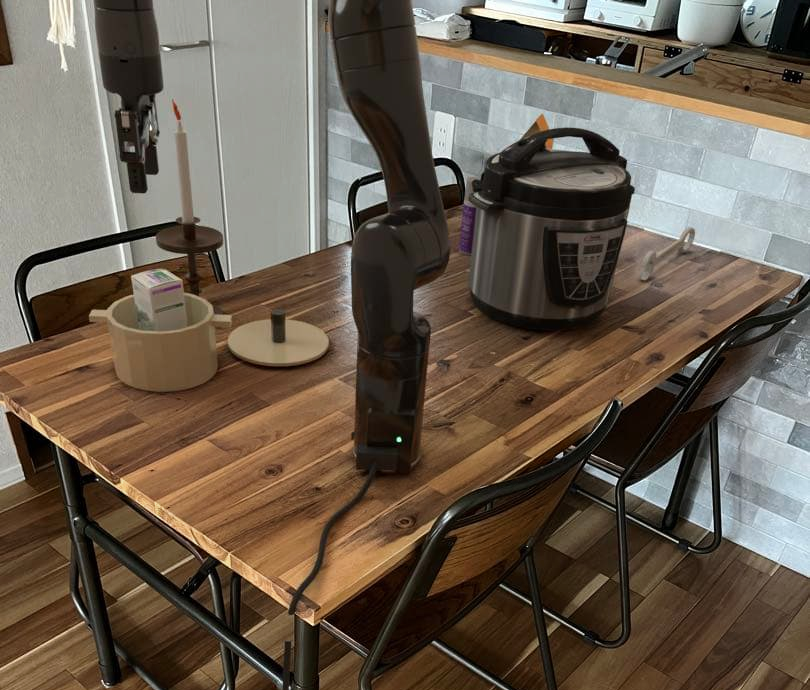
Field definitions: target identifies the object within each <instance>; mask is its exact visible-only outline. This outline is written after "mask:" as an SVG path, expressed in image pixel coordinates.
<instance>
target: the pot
mask: <svg viewBox="0 0 810 690" xmlns="http://www.w3.org/2000/svg"><path fill="white" fill-rule="evenodd" d="M184 298H185V307H186V315H187V324H188V327H186V328H182V329H179V330H171V331H142V330H139V326H138V319H137V312H136V306H135V299H134V294H130V295H127V296H124V297H122V298H119V299H117V300H116V301H115V300H114V302H113V303H112V304H111V305H110V306H109V307H107V309H91V311H90V313H89V315H88V321H89V322H90V323H107V329H108V335H109V341H110V349H111V354H112V359H113V360H112V361H113V366H114V372H115V373H116V376H117V377H118V379H119V380H120V381H121V382H123V384H125V385H127V386H129V387H132V388H134V389H138V390H142V391H149V392H157V393H158V392H159V393H167V392H178V391H184V390H188V389H192V388H193V389H194V388H195V387H198V386H201V385H203V384H205V383H206V382H209V381H210V380H211V379H212V378H214V376H215V375H216V373H217V371H218V367H219V363H218V352H217V339H216V338H217V337H216V328H228V329H229V328H231V327H232V323H233V315H232V314H223V315H216V314H214V312H213V306H212V305H213V304H212V303H210V302H209V301H208V300H207V299H205V298H203V297H201V296H199V297H198V296H196V295H194V294H189V293H188V292H184Z"/></svg>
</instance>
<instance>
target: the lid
mask: <svg viewBox="0 0 810 690" xmlns="http://www.w3.org/2000/svg"><path fill="white" fill-rule="evenodd" d="M329 346H330V340H329V336H328V335H327V333H326V332H324V331H323V330H322V329H320V328H319V327H317V326H315V325H313V324H310V323H307V322H304V321H300V320H295V319H286V310H284V309H281V308H273V309H271V310H270V318H269V319H260V320H255V321H251V322H247V323H244V324H242V325H240V326H238V327H236V328H235V329H233V330H232V331H231V332H230V334H229V335H228V337H227V347H228V349H229V351H230V352H231V353H232V354H233V355H234V356H236V357H237V358H238V359H240V360H242V361H245V362H248V363H252V364H255V365H260V366H267V367H291V366H292V367H293V366H299V365H304V364H308V363H311V362H313V361H316V360H318V359H320V358H321V357H322V356H324V355H325V354H326V352H327V351H328V350H329Z"/></svg>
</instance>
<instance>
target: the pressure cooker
mask: <svg viewBox="0 0 810 690" xmlns="http://www.w3.org/2000/svg"><path fill="white" fill-rule="evenodd" d="M567 137H569V138H571V137H572V138H581V139H582V140H583V142H584V144H585V146H586V149H587V150H588V151H589V152H587V151H571V150H564V149H554V148H552V149H545V148H546V146H545V143H546V142H547V139H553V138H554V139H560V138H567ZM520 139H521V138H520ZM520 139H519V140H517V141H515V142H514V143H512V144H510V145H508V146H507V147H506V148H504V149H503V150H501V151H500V152H498V153H494V154H492V155H491V156H489V157H488V158H487V160H486V161H485V167H484V171H483V172H482V173H481V175H480V177H481V180H478V179H474V180H473V181H472V187H473V192H475V193H471V194H469V199H468V200H469V201H470V202H471V203H472V204H473V205H475V206H476V216H475V226H474V236H473V244H472V253H471V255H470V263H469V272H468V273H469V274H468V281H467V282H468V284H467V285H468V288H469V295H470V298H471V300H472V303H473V304H474V305H475V307H476V308H477V309H478V310H479V311H480V312H481V313H483V314H485V315H486V316H488V317H490V318H492V319H494V320H497V321H499V322H501V323H504V324H507V325H511V326H515V327H519V328H522V329H523V328H524V329H529V330H536V331H537V330H538V331H539V330H540V331H568V330H573V329H578V328H582V327H585V326H589V325H590V324H592V323H594V322H595V321H596V320H598V319H599V317H600V316H601V315H602V314H603V313H604V311H605V310H606V308H607V306H608V303H609V300H610V298H611V297H610V296H611V293H612V292H611V291H612V288H613V283H614V279H615V274H616V270H617V266H618V262H619V257H620V253H621V251H622V246H623V243H624V238H625V234H626V230H627V226H628V218H629V213H630V208H631V202H632V197H633V195H634V194H635V191H636V187H635V186H633V185H632V184H631V183H632V175H631V173H630V172H629V171H628V170H627V165H628V159H627V158H625V157H623V156H622V155H620V149H619V148H618V147H617V146H616V145H615V144H614V143H612V141H610V140H609V139H607V138H606V137H604V136H603V135H601V134H599V133H597V132H594V131H592V130H589V129H585V128H579V127H554V128H549V130H545V131H541V132H538V133H535V134H532V135H530V136H527V137H525V138H523V139H521V140H520Z"/></svg>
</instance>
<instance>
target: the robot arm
mask: <svg viewBox="0 0 810 690" xmlns="http://www.w3.org/2000/svg"><path fill="white" fill-rule="evenodd" d="M93 5H94V6H93V9H94V10H93V11H94V31H95V37H96V44H97V52H98V57H99V59H98V60H99V67H100V73H101V74H100V75H101V82H102V86H103V88H104V90H105V91H107V92H108V93H111V94H112V95H113V94H116V95H118V96H120V99H121V100H120V107H118V109H115V110H114V115H113V116H114V118H115V126H116V134H117V136H116V137H117V143H118V144H117V145H118V152H119V155H118V156H119V160H120V162H122V163H125V164H126V169H127V176H128V177H127V178H128V186H129V191H130V192H131V193H132V194H143V195H144V194H146V193H147V192H148V190H149V189H148V188H149V187H148V178H147V175H149V176H156V175H158V174H159V171H160V168H159V159H158V158H159V157H158V150H157V146H158V143H159V139H158V138H160V134H161V131H160V127H159V119H158V112H157V111H158V109H157V101H156V95H157V94H160V93H162V92H163V90H164V87H165V86H164V77H163V75H164V74H163V67H162V58H161V46H160V37H159V36H160V35H159V29H158V23H157V18H156V14H155V8H154V0H93ZM327 16H328V17H327V18H328V33H329V39H330V45H331V51H332V56H333V61H334V62H333V63H334V68H335V73H336V80H337V85H338V88H339V91H340V94H341V97H342V99H343V101H344V103H345V105H346V107H347V109H348V111H349V113H350V114H351V116H352V118H353V120H354V121H355V123H356V124H357V126H358V127H359V129H360V131H361V133H362V134H363V135H364V137H365V139H366V140H367V142H368V143H369V146H370V147H371V148H372V150H373V152H374V154H375V157H376V159H377V161H378V163H379V167H380V169H381V173H382V177H383V183H384V187H385V192H386V202H387V211H388V212H387V213H384V214H381V215H378V216H375V217H372V218H370V219H368V220H366V221H365V222H363V223H362V224H361V225H360V226H359V227H358V229H357V230H356V231H355V234H354V237H353V241H352V245H351V252H350V289H351V292H350V293H351V313H352V318H353V322H354V325H355V327H356V331H357V339H356V341H357V343H356V363H355V395H354V396H355V397H354V398H355V399H354V428H353V431H352V432H351V435H350V437H351V438H350V442H351V441H353V446H352V457H353V460H354V461H355V470H357V471H358V470H360V471H364V473H365V474H368V476H367V477H366V480H365V481H364V484H363V486H362V487H361V489H360V490H359V492H358V493H357V494H356V495H355V497H353V499H352V500H351V501H350V502H348V503H347V504H345V506H344V507H342V508H341V509H339V510H338V511H337V512H336V513H335V514H334V515H332V516H331V517H330V519H329V520H328V521H327V523H326V525H325V526H324V528H323V530H322V533H321V536H320V540H319V546H318V552H317V558H316V561H315V564H314V566H313V568H312V570H311V571H310V573H309V574H308V576H307V577H306V578H305V579H304V580H303V582H301V583H300V585H299V586H298V588H297V589H296V591H295V592H294V595H293V596H292V599H291V602H290V604H289V607H288V611H287V614H288V615H289V616H293V615H294V614H295V613H296V610H297V606H298V603H299V601H300V599H301V597H302V595H303V594H304V592H305V591H306V589H307V588H308V587H309V586H310V585H311V584H312V582H314V580H315V579H316V578H317V576H318V574H319V573H320V572H319V571H320V570H321V567H322V564H323V560H324V557H325V550H326V544H327V539H328V536H329V534H330V531H331V530H332V527H333V526H334V525H335V523H336V522H337V521H338V520H339V519H340V518H341V517H342V516H343V515H345V514H346V513H347V512H349V511H350V510H351V509H352V508H353V507H354V506H356V505H357V504H358V503H359V502H360V501H361V500H362V498H363V497H364V496H365V494H366V493H367V492H368V490H369V488H370V486H371V484H372V482H373V480H374V478H375V476H376V475H411V473H412V472H411V471H412V469H414V468H415V467H417V466H418V464H419V463H420V461H421V455H422V453H421V452H422V451H421V444H422V435H423V434H422V432H423V422H424V411H425V399H426V388H427V376H428V375H427V374H428V367H429V354H430V346H431V334H432V330H431V329H432V328H431V324H430V321H429V320H428V319H427V318H426V317H425V316H424V315H422V314H420V313H418V312H416V311H414V294H415V293H414V291H416V290H418V289H420V288H422V287H425V286H427V285H429V284H431V283H433V282H435V281H436V280H438V279H439V278H440V277H441V276H442V275H444V273H445V271H446V269H447V267H448V266H449V265H448V264H449V262H450V257H451V238H450V231H449V226H448V221H447V216H446V212H445V207H444V203H443V199H442V194H441V189H440V185H439V180H438V175H437V172H436V166H435V162H434V156H433V150H432V144H431V135H430V130H429V128H430V127H429V122H428V116H427V110H426V103H425V95H424V87H423V80H422V67H421V66H422V65H421V59H420V48H419V42H418V33H417V26H416V19H415V13H414V8H413V1H412V0H329V1H328V15H327ZM131 147H133V148H134V151H130V150H131ZM291 655H292V641H291V640H288V641H287V640H285V641H284V647H283V667H282V690H290V673H291V657H292V656H291Z"/></svg>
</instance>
